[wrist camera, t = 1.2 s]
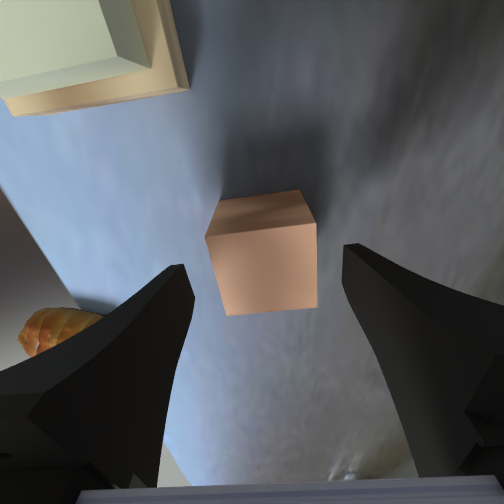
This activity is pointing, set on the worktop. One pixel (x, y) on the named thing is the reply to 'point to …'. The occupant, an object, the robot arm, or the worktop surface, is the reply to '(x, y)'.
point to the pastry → (53, 328)
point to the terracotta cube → (264, 253)
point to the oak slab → (124, 86)
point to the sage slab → (66, 44)
